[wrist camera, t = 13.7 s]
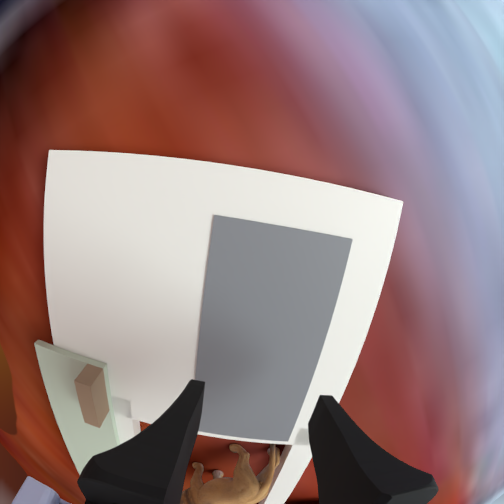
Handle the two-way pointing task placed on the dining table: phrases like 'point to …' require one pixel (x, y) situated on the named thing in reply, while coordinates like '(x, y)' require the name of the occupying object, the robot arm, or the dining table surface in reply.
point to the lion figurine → (233, 481)
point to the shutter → (79, 401)
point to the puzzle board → (214, 289)
